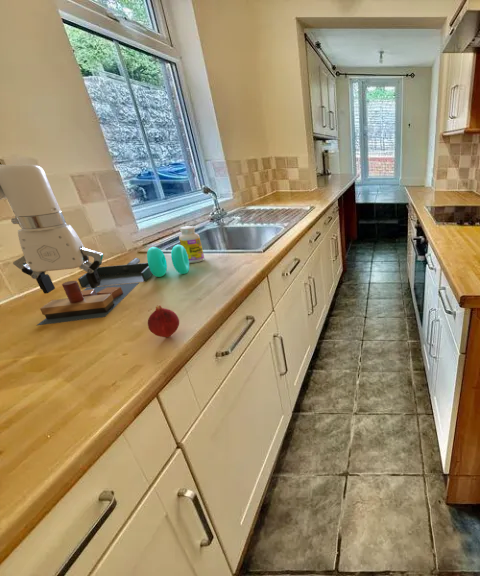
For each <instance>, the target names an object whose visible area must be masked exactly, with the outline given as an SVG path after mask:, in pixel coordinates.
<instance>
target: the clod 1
mask: <svg viewBox="0 0 480 576" xmlns="http://www.w3.org/2000/svg"><path fill="white" fill-rule="evenodd" d="M83 290H84V291H83ZM83 290H81V292H82V295H83V297H85V296H94V295H97V294H96V292H95V289H90V290H85V289H83Z"/></svg>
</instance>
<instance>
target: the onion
mask: <svg viewBox="0 0 480 576" xmlns="http://www.w3.org/2000/svg"><path fill="white" fill-rule="evenodd" d="M179 326H180V319H179V317H178V315H177V314H176V313H175V311H173V310H171V309H169V308H165V307H162V305H161V304H157V305H156V306H155V310H154V311H153V312H152V313H150V315H149V316H148V318H147V327H148V330H149V331H150V332H151V333H152V334H153V335H155V336H157V337H161V338H171V336H172V335H174V334H175V333H176V332H177V330H178V328H179Z"/></svg>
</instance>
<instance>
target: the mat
mask: <svg viewBox="0 0 480 576" xmlns="http://www.w3.org/2000/svg"><path fill="white" fill-rule="evenodd" d="M140 283H141V282H136V283H126V284H116V285H106V286H97V287H96V288H91V287H87V288H84V289H83V290H82V291H84V290H90V289H95V292H96V293H97V292H99V291H101V290H103V289H105V288H107V287H121V289H122V292H123V294H121V295H119V296H118V297H116V298H114V299H113V303H114V306H113V307H112V308H111V309H110V310H108V311H107V312H105V313H97V314H89V315H80V316H72V317H64V318H55V319H46V318H44V319H43V320H41V321H40V322H39V323H37V324H36V326H44V325H53V324H59V323H68V322H77V321H83V320H91V319H100V318H105V317H107V316H108V315H109V314H110V313H111V312H112V311H113V310H114V309H115V308H116V307H117V306H118V305H119V304H120V303H121V302H122V301H123V300H124V299H126V297H127V296H128V295H130V293H131V292H132V291H133V290H134V289H135V288H136V287H137V286H138V285H139V284H140Z"/></svg>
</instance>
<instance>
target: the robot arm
mask: <svg viewBox="0 0 480 576" xmlns="http://www.w3.org/2000/svg"><path fill="white" fill-rule="evenodd" d="M1 200H7V202H8V204H9V206H10V208H11V210H12V212H13V214H14V217H12V218H10V221H11V223H12V224H13V225H18V226H19V227H20V228H21V229H17V236H18V237H17V238H18V241H19V245H20V249H21V251H22V254H23V255H22V256H20V257H19V258H17V259H16V260H14V261H13V262H12V264H13V265H14V266H15V267H17V268H18V269H19V270H21V272H22V273H23V274H26V275H28V276H30V277H31V279H33V280H36V282H37V285H38V286H39V288H40V290H42V292H43V294H45V295H46V294H49V293H51V292H52V291H55V289H56V287H55V284H54V283H53V281H52V279H51V277H50V275H49V274H46V273H47V272H53V271H64V270H73V269H78V268H79V269H81V270H83V271H85V272H86V273H87V274H86V273H85V274H86V277H87V279H88V281H89V284H90V286H91V288H96V287H99V286H98V285H100V282H101V280H100V277H99V275H98V273H97V269H98V267H101V264H103V258H104V253H103V252H101V251H97V250H93V249H90V248H87V247H85V245H84V243H83V241H82V239H81V238H80V237H79V235H78V232H77V231H76V230H75V229H74V228H73V226H72V225H71V224H69V223H67V221H66V219H65V217H64V214H63V211H62V209H61V206H60V205H59V203H58V200H57V197H56V195H55V193H54V191H53V188H52V186H51V183H50V181H49V179H48V177H47V174H46V171H45V170H44V168H42V167H41V166H39V165H37V164H32V163H24V164H23V163H20V164H18V163H17V164H0V201H1ZM90 257H92V258H93V262H91V261H90Z"/></svg>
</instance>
